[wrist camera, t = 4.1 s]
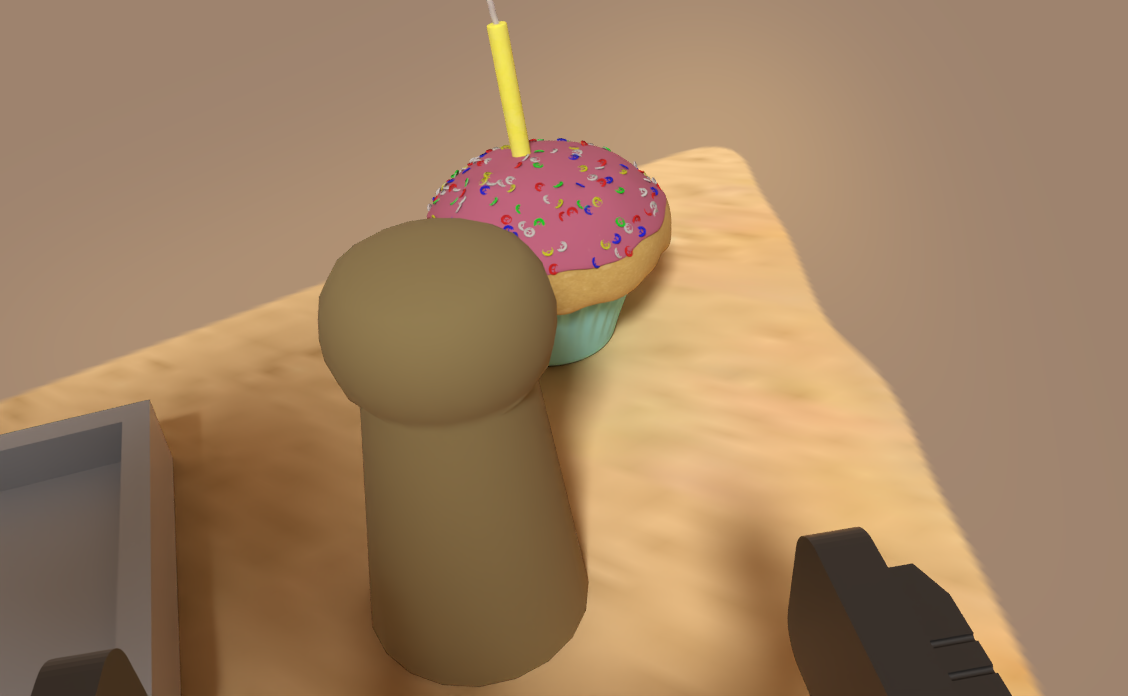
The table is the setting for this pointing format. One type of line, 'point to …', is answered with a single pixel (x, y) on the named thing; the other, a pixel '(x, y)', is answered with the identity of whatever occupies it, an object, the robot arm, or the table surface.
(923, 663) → the robot arm
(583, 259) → the cupcake
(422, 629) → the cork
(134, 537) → the gray tray
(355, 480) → the table surface
